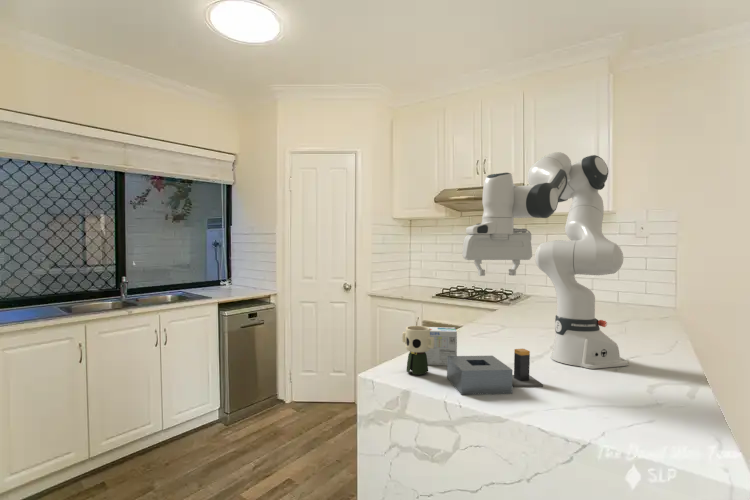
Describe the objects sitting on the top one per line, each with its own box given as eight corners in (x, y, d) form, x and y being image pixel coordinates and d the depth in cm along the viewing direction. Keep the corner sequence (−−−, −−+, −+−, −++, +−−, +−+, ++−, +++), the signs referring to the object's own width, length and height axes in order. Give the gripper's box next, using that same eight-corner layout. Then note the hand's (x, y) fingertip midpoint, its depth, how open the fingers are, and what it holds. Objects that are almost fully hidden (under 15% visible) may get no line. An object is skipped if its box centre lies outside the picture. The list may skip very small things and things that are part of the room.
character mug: (394, 371, 119) (395, 327, 118) (409, 366, 124) (410, 323, 124) (426, 380, 112) (426, 332, 111) (440, 374, 117) (440, 329, 117)
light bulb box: (455, 360, 131) (455, 326, 131) (457, 366, 125) (457, 331, 125) (421, 359, 133) (422, 325, 132) (422, 365, 126) (422, 330, 126)
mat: (528, 376, 116) (528, 374, 116) (542, 386, 108) (542, 384, 108) (501, 377, 115) (501, 375, 115) (513, 387, 107) (513, 384, 107)
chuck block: (485, 371, 120) (485, 350, 120) (512, 393, 102) (512, 369, 102) (442, 372, 119) (442, 351, 119) (461, 394, 101) (461, 370, 101)
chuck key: (529, 380, 111) (529, 351, 111) (520, 381, 110) (520, 351, 110) (522, 377, 113) (523, 348, 113) (513, 378, 113) (514, 349, 113)
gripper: (526, 228, 124) (525, 274, 124) (460, 228, 122) (460, 274, 122) (536, 228, 118) (535, 276, 118) (468, 227, 115) (467, 276, 116)
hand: (496, 275), depth 120 cm, fingers open, 8 cm apart
